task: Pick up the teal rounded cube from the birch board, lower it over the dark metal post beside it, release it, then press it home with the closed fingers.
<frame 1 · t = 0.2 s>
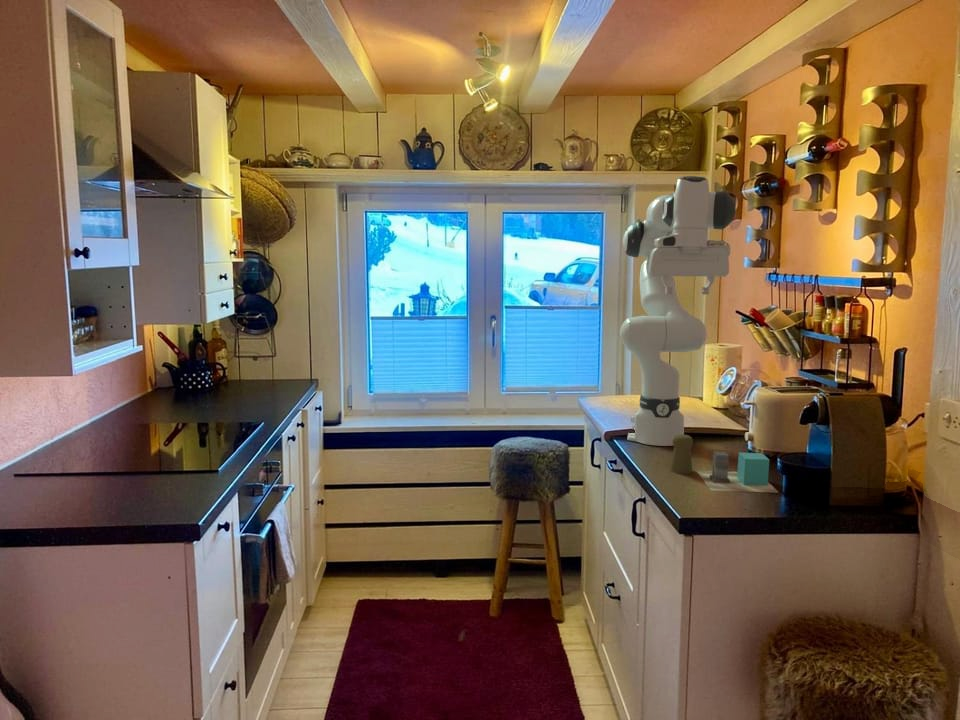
hand: (686, 294, 190), 47 cm above the countertop, tool pointing down, fingers open, 8 cm apart
cork: (680, 476, 192), on the countertop
teal rounded cube: (752, 481, 183), point 1 cm above the countertop, touching stand
stand: (719, 486, 184), on the countertop
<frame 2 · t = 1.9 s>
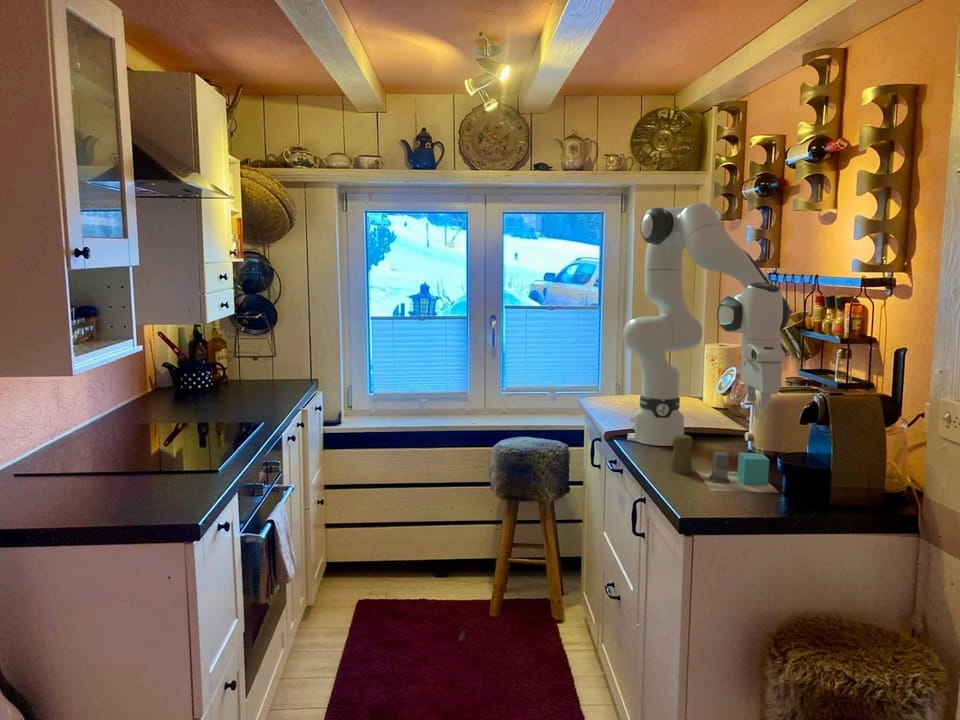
hand: (757, 405, 180), 21 cm above the countertop, tool pointing down, fingers open, 8 cm apart
nothing on the countertop moved.
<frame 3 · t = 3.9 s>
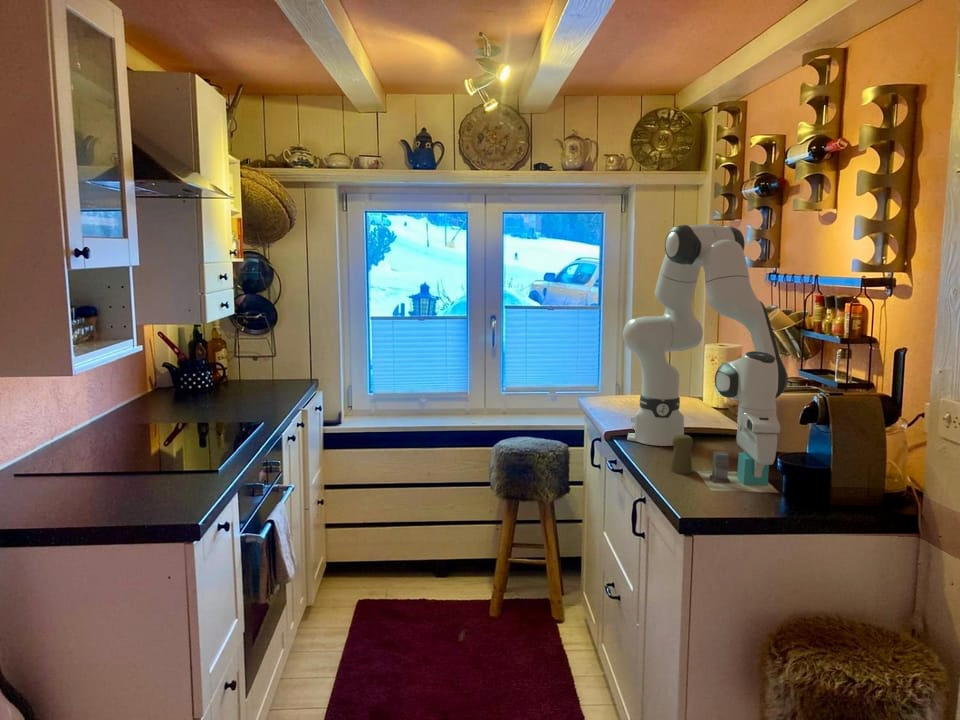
hand: (752, 472, 182), 4 cm above the countertop, tool pointing down, fingers closed on teal rounded cube, 6 cm apart
teal rounded cube: (752, 481, 183), point 1 cm above the countertop, touching gripper, stand
everything else where it was.
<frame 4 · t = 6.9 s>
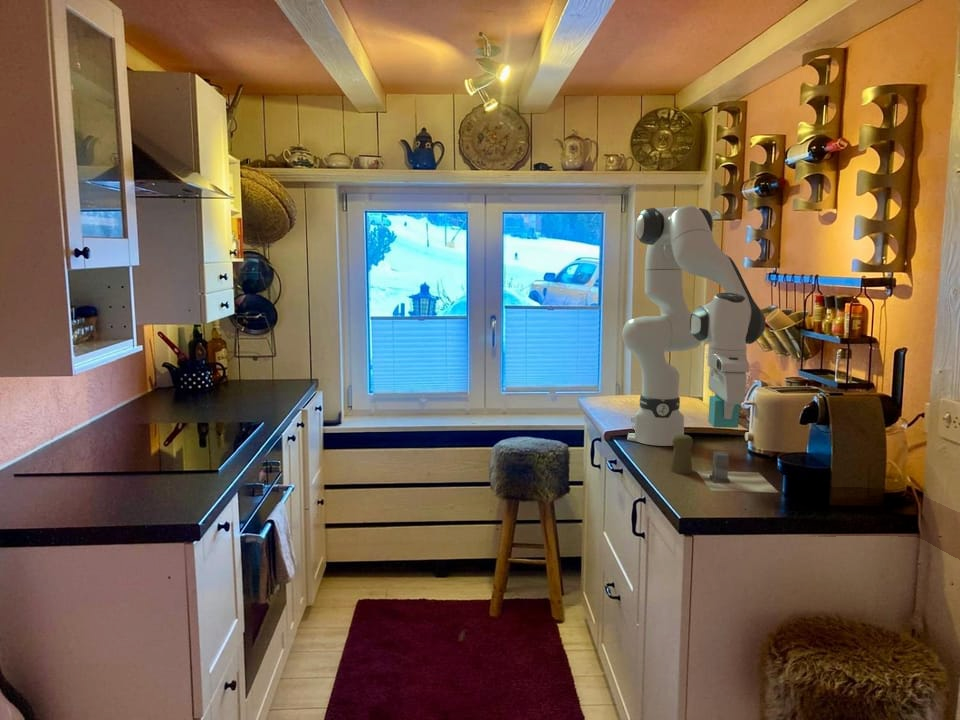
hand: (723, 415, 181), 18 cm above the countertop, tool pointing down, fingers closed on teal rounded cube, 6 cm apart
teal rounded cube: (722, 424, 181), point 16 cm above the countertop, touching gripper
everything else where it was.
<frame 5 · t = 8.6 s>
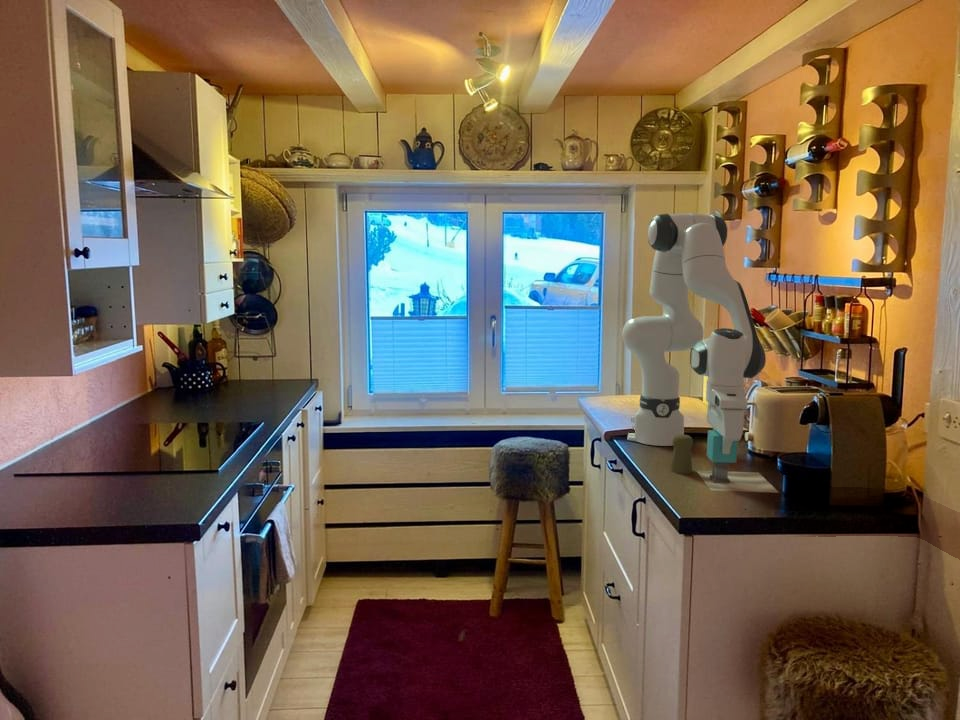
hand: (721, 449, 182), 10 cm above the countertop, tool pointing down, fingers closed on teal rounded cube, 6 cm apart
teal rounded cube: (721, 459, 182), point 7 cm above the countertop, touching gripper
everything else where it was.
when the fingers open (6 cm above the countertop, at t = 10.0 s): teal rounded cube drops 1 cm, resting on stand.
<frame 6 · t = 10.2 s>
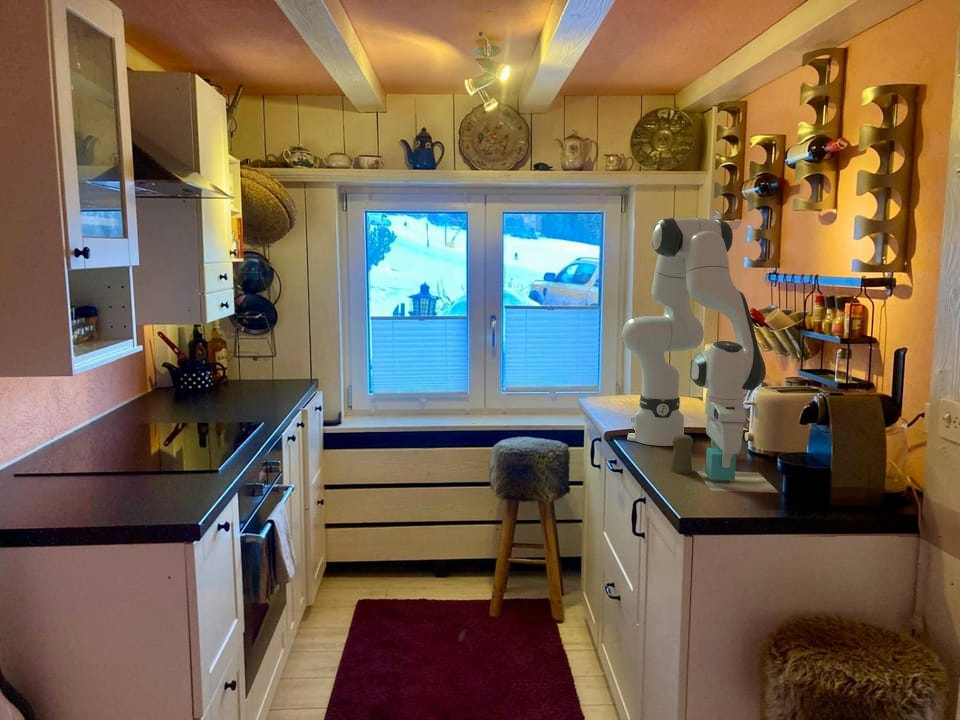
hand: (720, 461, 183), 6 cm above the countertop, tool pointing down, fingers open, 8 cm apart
teal rounded cube: (719, 476, 183), point 2 cm above the countertop, touching stand
everything else where it was.
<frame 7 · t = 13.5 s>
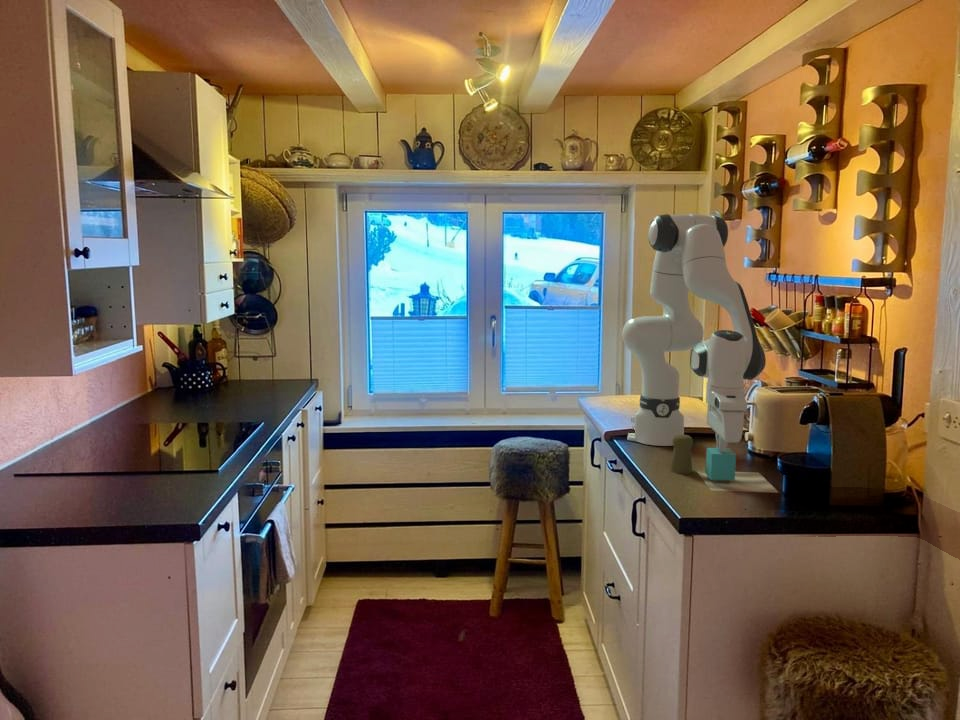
hand: (721, 451, 182), 9 cm above the countertop, tool pointing down, fingers closed, pressing on teal rounded cube
teal rounded cube: (719, 476, 183), point 2 cm above the countertop, touching gripper, stand
everything else where it was.
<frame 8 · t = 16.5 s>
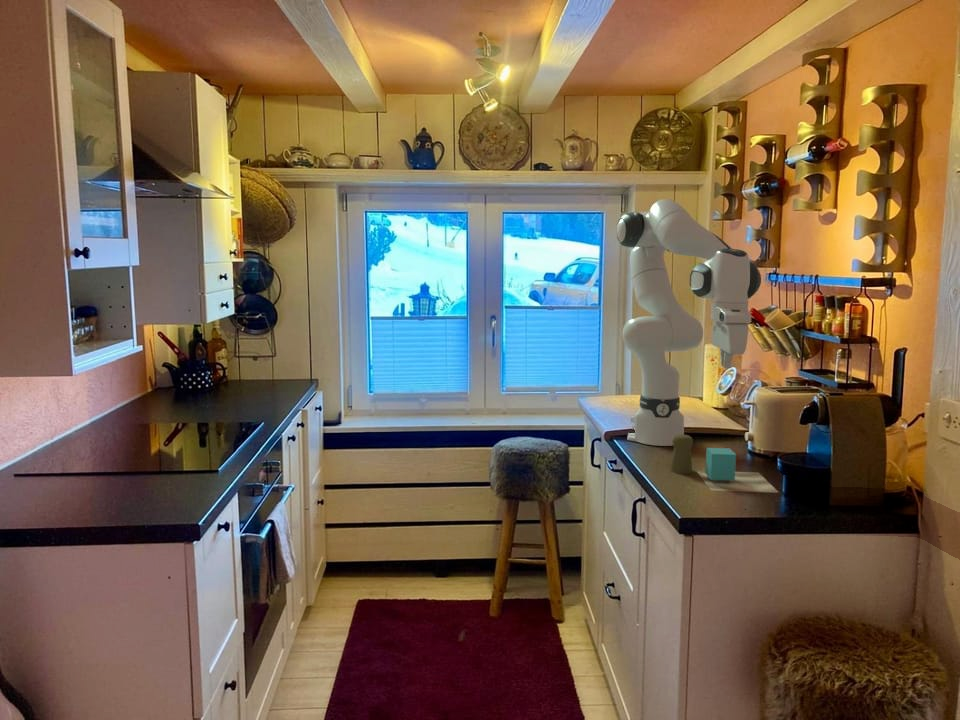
hand: (725, 367, 187), 29 cm above the countertop, tool pointing down, fingers closed
teal rounded cube: (719, 476, 183), point 2 cm above the countertop, touching stand
everything else where it was.
at the end: teal rounded cube 0.0 cm from the stand (horizontally); teal rounded cube point 2.5 cm above the countertop; teal rounded cube tilted 0° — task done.
